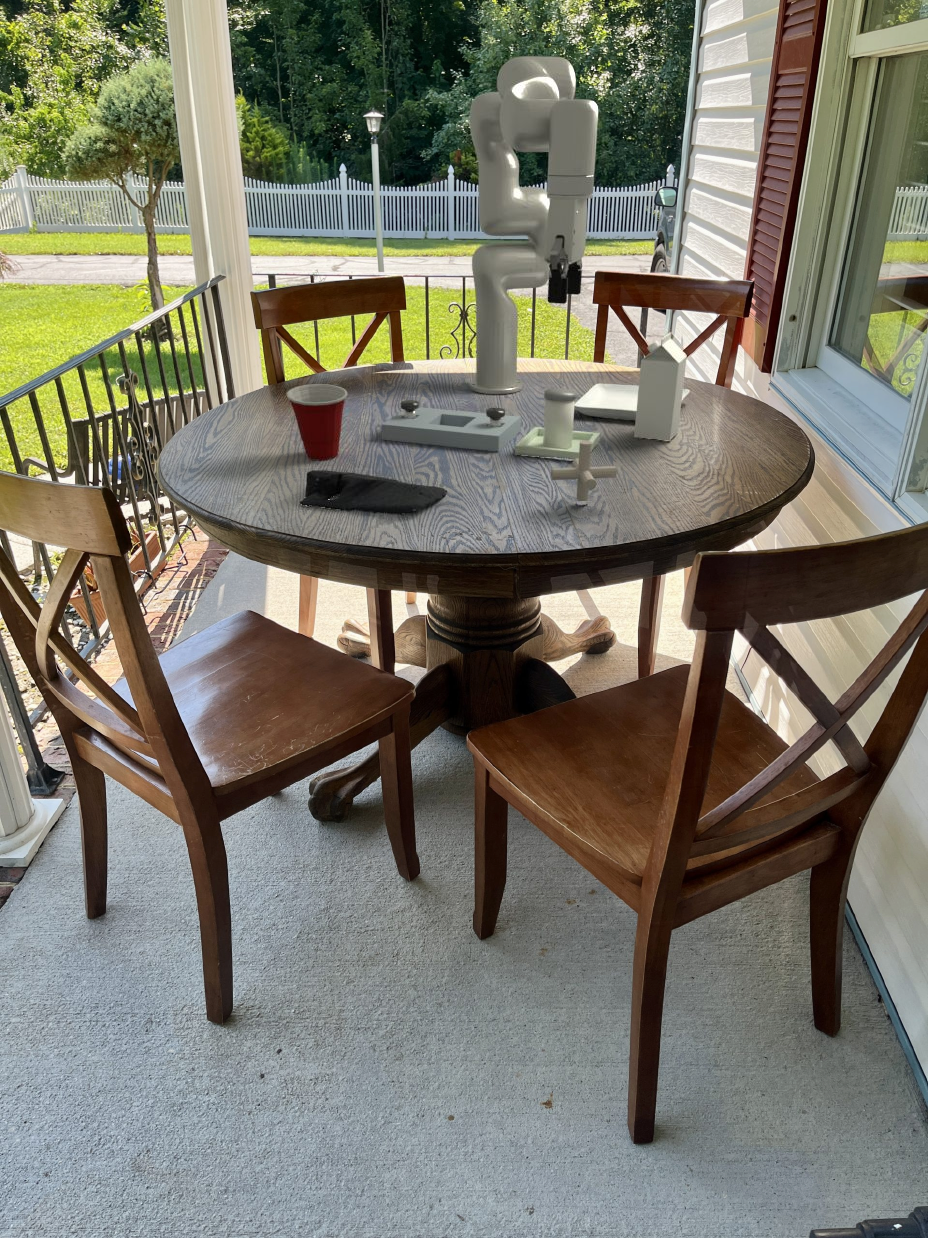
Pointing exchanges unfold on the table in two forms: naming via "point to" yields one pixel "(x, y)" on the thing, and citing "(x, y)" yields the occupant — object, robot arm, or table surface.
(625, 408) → the salad plate
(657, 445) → the table surface
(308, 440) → the plastic cup
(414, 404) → the plunger
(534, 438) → the tray
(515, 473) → the table surface
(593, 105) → the robot arm
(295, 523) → the table surface
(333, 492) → the dark slate chunk
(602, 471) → the pipe connector
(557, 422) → the cartridge
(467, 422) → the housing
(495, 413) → the plunger
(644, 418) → the milk carton
